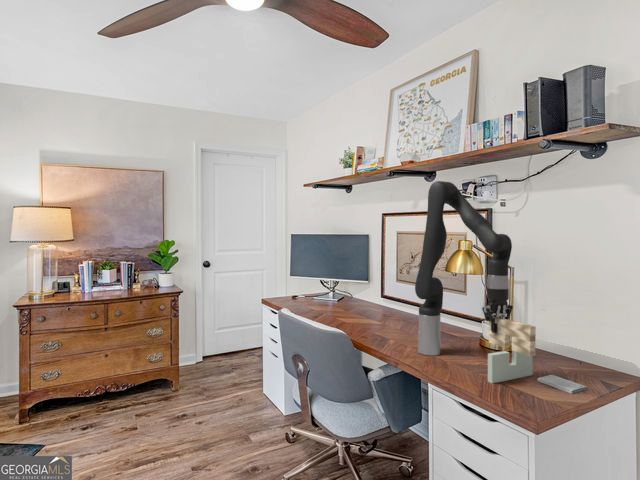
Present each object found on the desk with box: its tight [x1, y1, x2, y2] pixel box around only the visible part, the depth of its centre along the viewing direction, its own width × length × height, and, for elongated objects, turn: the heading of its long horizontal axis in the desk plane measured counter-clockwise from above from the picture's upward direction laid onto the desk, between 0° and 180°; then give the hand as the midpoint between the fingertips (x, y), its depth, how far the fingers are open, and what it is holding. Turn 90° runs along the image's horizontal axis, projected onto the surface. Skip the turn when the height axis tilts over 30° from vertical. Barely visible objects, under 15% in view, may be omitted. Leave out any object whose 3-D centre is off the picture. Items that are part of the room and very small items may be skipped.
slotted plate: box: [487, 349, 534, 384], centre depth 143 cm, size 20×2×10 cm, turn 113°
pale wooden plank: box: [488, 317, 537, 357], centre depth 143 cm, size 18×2×10 cm, turn 23°
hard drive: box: [537, 374, 588, 395], centre depth 137 cm, size 2×8×12 cm
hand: (497, 332), depth 148 cm, fingers closed on pale wooden plank, 2 cm apart
